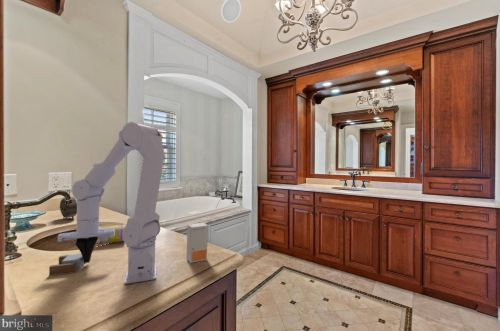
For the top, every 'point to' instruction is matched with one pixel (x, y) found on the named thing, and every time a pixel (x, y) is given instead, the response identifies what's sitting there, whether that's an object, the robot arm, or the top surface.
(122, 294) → the top surface
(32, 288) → the top surface
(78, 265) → the block
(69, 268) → the channel
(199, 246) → the skincare box
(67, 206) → the alarm clock
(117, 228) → the supplement bottle
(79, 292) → the top surface
